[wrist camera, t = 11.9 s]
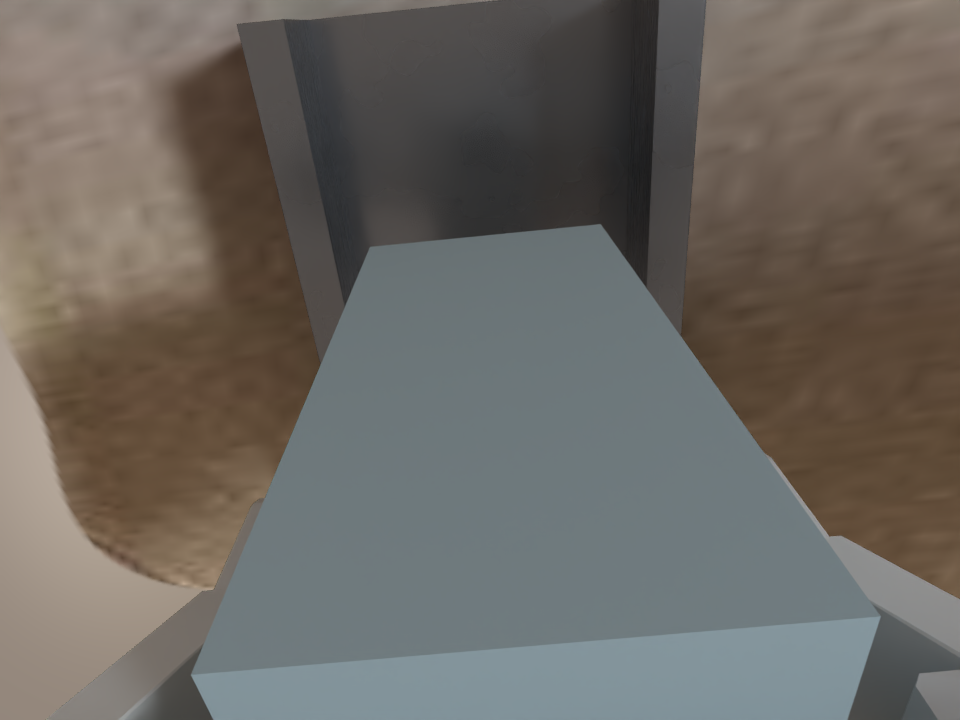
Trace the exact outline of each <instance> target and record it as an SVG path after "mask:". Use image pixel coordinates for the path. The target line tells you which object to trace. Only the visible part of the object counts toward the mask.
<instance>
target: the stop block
mask: <svg viewBox="0 0 960 720" xmlns="http://www.w3.org/2000/svg"><path fill="white" fill-rule="evenodd" d="M880 617H881V616H880V615H879V613H878V612H877V610H876V609H875V608H874V606H873V605H872V603H871V602H870V601H869V599H868V598H867V596H866V595H865V594H864V592H863V591H862V589H861V588H860V587H859V585H858V584H857V582H856V581H855V580H854V578H853V577H852V575H851V574H850V573H849V571H848V570H847V568H846V567H845V566H844V564H843V563H842V561H841V560H840V559H839V557H838V556H837V554H836V553H835V552H834V550H833V549H832V547H831V546H830V545H829V543H828V542H827V540H826V539H825V538H824V536H823V535H822V533H821V532H820V531H819V529H818V528H817V526H816V525H815V524H814V522H813V521H812V519H811V518H810V517H809V515H808V514H807V512H806V511H805V510H804V508H803V507H802V505H801V504H800V503H799V501H798V500H797V498H796V497H795V496H794V494H793V493H792V491H791V490H790V489H789V487H788V486H787V484H786V483H785V482H784V480H783V479H782V477H781V476H780V475H779V473H778V472H777V470H776V469H775V468H774V466H773V465H772V463H771V462H770V461H769V459H768V458H767V456H766V455H765V454H764V452H763V451H762V449H761V448H760V447H759V445H758V444H757V442H756V441H755V440H754V438H753V437H752V435H751V434H750V433H749V431H748V430H747V428H746V427H745V426H744V424H743V423H742V421H741V420H740V419H739V417H738V416H737V414H736V413H735V412H734V410H733V409H732V407H731V406H730V405H729V403H728V402H727V400H726V399H725V398H724V396H723V395H722V393H721V392H720V391H719V389H718V388H717V386H716V385H715V384H714V382H713V381H712V379H711V378H710V377H709V375H708V374H707V372H706V371H705V370H704V368H703V367H702V365H701V364H700V363H699V361H698V360H697V358H696V357H695V356H694V354H693V353H692V351H691V350H690V349H689V347H688V346H687V344H686V343H685V342H684V340H683V339H682V337H681V336H680V335H679V333H678V332H677V330H676V329H675V328H674V326H673V325H672V323H671V322H670V320H669V319H668V318H667V316H666V315H665V313H664V312H663V311H662V309H661V308H660V306H659V305H658V304H657V302H656V301H655V299H654V298H653V297H652V295H651V294H650V292H649V291H648V290H647V288H646V287H645V285H644V284H643V283H642V281H641V280H640V278H639V277H638V276H637V274H636V273H635V271H634V270H633V269H632V267H631V266H630V264H629V263H628V262H627V260H626V259H625V257H624V256H623V255H622V253H621V252H620V250H619V249H618V248H617V246H616V245H615V243H614V242H613V241H612V239H611V238H610V236H609V235H608V234H607V232H606V231H605V229H604V228H603V227H602V225H601V224H597V225H587V226H577V227H567V228H557V229H547V230H536V231H526V232H516V233H506V234H496V235H486V236H476V237H465V238H455V239H445V240H435V241H425V242H415V243H405V244H395V245H384V246H374V247H370V248H369V251H368V253H367V255H366V258H365V260H364V263H363V265H362V267H361V270H360V272H359V274H358V277H357V279H356V282H355V284H354V286H353V289H352V291H351V294H350V296H349V298H348V301H347V303H346V306H345V308H344V310H343V313H342V315H341V317H340V320H339V322H338V325H337V327H336V329H335V332H334V334H333V337H332V339H331V341H330V344H329V346H328V349H327V351H326V353H325V356H324V358H323V360H322V363H321V365H320V368H319V370H318V372H317V375H316V377H315V380H314V382H313V384H312V387H311V389H310V391H309V394H308V396H307V399H306V401H305V403H304V406H303V408H302V411H301V413H300V415H299V418H298V420H297V423H296V425H295V427H294V430H293V432H292V434H291V437H290V439H289V442H288V444H287V446H286V449H285V451H284V454H283V456H282V458H281V461H280V463H279V466H278V468H277V470H276V473H275V475H274V477H273V480H272V482H271V485H270V487H269V489H268V492H267V494H266V497H265V499H264V501H263V504H262V506H261V509H260V511H259V513H258V516H257V518H256V520H255V523H254V525H253V528H252V530H251V532H250V535H249V537H248V540H247V542H246V544H245V547H244V549H243V552H242V554H241V556H240V559H239V561H238V563H237V566H236V568H235V571H234V573H233V575H232V578H231V580H230V583H229V585H228V587H227V590H226V592H225V595H224V597H223V599H222V602H221V604H220V606H219V609H218V611H217V614H216V616H215V618H214V621H213V623H212V626H211V628H210V630H209V633H208V635H207V638H206V640H205V642H204V645H203V647H202V649H201V652H200V654H199V657H198V659H197V661H196V664H195V666H194V669H193V671H192V673H191V676H192V678H193V680H194V682H195V684H196V686H197V688H198V690H199V692H200V694H201V696H202V698H203V700H204V702H205V704H206V706H207V708H208V710H209V712H210V714H211V716H212V718H213V720H847V719H848V716H849V713H850V710H851V707H852V704H853V701H854V698H855V695H856V692H857V688H858V685H859V682H860V679H861V676H862V673H863V670H864V667H865V664H866V661H867V657H868V654H869V651H870V648H871V645H872V642H873V639H874V636H875V633H876V630H877V627H878V623H879V620H880Z"/></svg>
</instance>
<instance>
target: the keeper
mask: <svg viewBox="0 0 960 720" xmlns="http://www.w3.org/2000/svg"><path fill="white" fill-rule="evenodd" d="M705 9H706V0H498V1H488V2H479V3H469V4H459V5H450V6H440V7H430V8H421V9H411V10H401V11H392V12H382V13H372V14H363V15H353V16H344V17H334V18H324V19H315V20H289V19H281V20H272V21H262V22H252V23H243V24H237V28H238V32H239V36H240V40H241V44H242V48H243V52H244V56H245V60H246V64H247V68H248V72H249V76H250V80H251V84H252V88H253V92H254V96H255V101H256V105H257V109H258V113H259V117H260V121H261V125H262V129H263V133H264V137H265V141H266V145H267V149H268V153H269V157H270V161H271V165H272V170H273V174H274V178H275V182H276V186H277V190H278V194H279V198H280V202H281V206H282V210H283V214H284V218H285V222H286V226H287V230H288V234H289V238H290V243H291V247H292V251H293V255H294V259H295V263H296V267H297V271H298V275H299V279H300V283H301V287H302V291H303V295H304V299H305V303H306V307H307V311H308V316H309V320H310V324H311V328H312V332H313V336H314V340H315V344H316V348H317V352H318V356H319V360H320V364H321V363H322V360H323V358H324V356H325V353H326V351H327V349H328V346H329V344H330V341H331V339H332V337H333V334H334V332H335V329H336V327H337V325H338V322H339V320H340V317H341V315H342V313H343V310H344V308H345V306H346V303H347V301H348V298H349V296H350V294H351V291H352V289H353V286H354V284H355V282H356V279H357V277H358V274H359V272H360V270H361V267H362V265H363V263H364V260H365V258H366V255H367V253H368V251H369V248H370V247H374V246H384V245H395V244H405V243H415V242H425V241H435V240H445V239H455V238H465V237H476V236H486V235H496V234H506V233H516V232H526V231H536V230H547V229H557V228H567V227H577V226H587V225H597V224H601V225H602V227H603V228H604V229H605V231H606V232H607V234H608V235H609V236H610V238H611V239H612V241H613V242H614V243H615V245H616V246H617V248H618V249H619V250H620V252H621V253H622V255H623V256H624V257H625V259H626V260H627V262H628V263H629V264H630V266H631V267H632V269H633V270H634V271H635V273H636V274H637V276H638V277H639V278H640V280H641V281H642V283H643V284H644V285H645V287H646V288H647V290H648V291H649V292H650V294H651V295H652V297H653V298H654V299H655V301H656V302H657V304H658V305H659V306H660V308H661V309H662V311H663V312H664V313H665V315H666V316H667V318H668V319H669V320H670V322H671V323H672V325H673V326H674V328H675V329H676V330H677V332H678V333H679V335H680V336H681V328H682V315H683V301H684V288H685V275H686V261H687V248H688V235H689V222H690V208H691V195H692V182H693V169H694V155H695V142H696V129H697V115H698V102H699V89H700V76H701V62H702V49H703V36H704V23H705Z"/></svg>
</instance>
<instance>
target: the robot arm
mask: <svg viewBox="0 0 960 720" xmlns="http://www.w3.org/2000/svg"><path fill="white" fill-rule="evenodd" d="M765 455H766V454H765ZM766 456H767V458H768V459H769V461H770V462H771V463H772V465H773V466H774V468H775V469H776V470H777V472H778V473H779V475H780V476H781V477H782V479H783V480H784V482H785V483H786V484H787V486H788V487H789V489H790V490H791V491H792V493H793V494H794V496H795V497H796V498H797V500H798V501H799V503H800V504H801V505H802V507H803V508H804V510H805V511H806V512H807V514H808V515H809V517H810V518H811V519H812V521H813V522H814V524H815V525H816V526H817V528H818V529H819V531H820V532H821V533H822V535H823V536H824V538H825V539H826V540H827V542H828V543H829V545H830V546H831V547H832V549H833V550H834V552H835V553H836V554H837V556H838V557H839V559H840V560H841V561H842V563H843V564H844V566H845V567H846V568H847V570H848V571H849V573H850V574H851V575H852V577H853V578H854V580H855V581H856V582H857V584H858V585H859V587H860V588H861V589H862V591H863V592H864V594H865V595H866V596H867V598H868V599H869V601H870V602H871V603H872V605H873V606H874V608H875V609H876V610H877V612H878V613H879V615H880V616H881V617H880V620H879V623H878V627H877V630H876V633H875V636H874V639H873V642H872V645H871V648H870V651H869V654H868V657H867V661H866V664H865V667H864V670H863V673H862V676H861V679H860V682H859V685H858V688H857V692H856V695H855V698H854V701H853V704H852V707H851V710H850V713H849V716H848V719H847V720H960V599H958V598H956V597H954V596H953V595H951V594H949V593H947V592H945V591H943V590H941V589H940V588H938V587H936V586H934V585H932V584H930V583H928V582H926V581H925V580H923V579H921V578H919V577H917V576H915V575H913V574H912V573H910V572H908V571H906V570H904V569H902V568H900V567H899V566H897V565H895V564H893V563H891V562H889V561H887V560H885V559H884V558H882V557H880V556H878V555H876V554H874V553H872V552H871V551H869V550H867V549H865V548H863V547H861V546H859V545H857V544H856V543H854V542H852V541H850V540H848V539H846V538H844V537H843V536H831V537H829V535H828V534H827V533H826V531H825V530H824V529H823V527H822V526H821V524H820V523H819V522H818V520H817V519H816V518H815V516H814V515H813V514H812V512H811V511H810V510H809V508H808V507H807V505H806V504H805V503H804V501H803V500H802V499H801V497H800V496H799V495H798V493H797V492H796V491H795V489H794V488H793V487H792V485H791V484H790V482H789V481H788V480H787V478H786V477H785V476H784V474H783V473H782V472H781V470H780V469H779V468H778V466H777V465H776V463H775V462H774V461H773V459H772V458H771V457H770V456H768V455H766ZM264 499H265V498H261V499H258V500H257V501H256V502H254V503H253V504H252V506H251V507H250V509H249V512H248V514H247V516H246V518H245V521H244V523H243V525H242V527H241V530H240V532H239V534H238V536H237V538H236V541H235V543H234V545H233V547H232V550H231V552H230V554H229V556H228V559H227V561H226V563H225V565H224V568H223V570H222V572H221V574H220V577H219V579H218V581H217V583H216V586H215V588H214V590H209V591H202V592H201V593H199V594H198V595H197V596H196V597H195V598H193V599H192V600H191V601H190V602H189V603H187V604H186V605H185V606H184V607H183V608H181V609H180V610H179V611H178V612H177V613H175V614H174V615H173V616H171V617H170V618H169V619H168V620H167V621H166V622H164V623H163V624H162V625H161V626H159V627H158V628H157V629H156V630H154V631H153V632H152V633H151V634H149V635H148V636H147V637H146V638H145V639H143V640H142V641H141V642H140V643H139V644H137V645H136V646H135V647H134V648H132V649H131V650H130V651H129V652H127V653H126V654H125V655H124V656H123V657H121V658H120V659H119V660H118V661H116V662H115V663H114V664H113V665H112V666H110V667H109V668H108V669H107V670H106V671H104V672H103V673H102V674H101V675H100V676H98V677H97V678H96V679H95V680H93V681H92V682H91V683H90V684H88V685H87V686H86V687H85V688H84V689H82V690H81V691H80V692H79V693H78V694H76V695H75V696H74V697H73V698H71V699H70V700H69V701H68V702H66V703H65V704H64V705H63V706H62V707H60V708H59V709H58V710H57V711H55V712H54V713H53V714H52V715H51V716H49V718H47V719H46V720H213V718H212V716H211V714H210V712H209V710H208V708H207V706H206V704H205V702H204V700H203V698H202V696H201V694H200V692H199V690H198V688H197V686H196V684H195V682H194V680H193V678H192V676H191V673H192V671H193V669H194V666H195V664H196V661H197V659H198V657H199V654H200V652H201V649H202V647H203V645H204V642H205V640H206V638H207V635H208V633H209V630H210V628H211V626H212V623H213V621H214V618H215V616H216V614H217V611H218V609H219V606H220V604H221V602H222V599H223V597H224V595H225V592H226V590H227V587H228V585H229V583H230V580H231V578H232V575H233V573H234V571H235V568H236V566H237V563H238V561H239V559H240V556H241V554H242V552H243V549H244V547H245V544H246V542H247V540H248V537H249V535H250V532H251V530H252V528H253V525H254V523H255V520H256V518H257V516H258V513H259V511H260V509H261V506H262V504H263V501H264Z"/></svg>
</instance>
